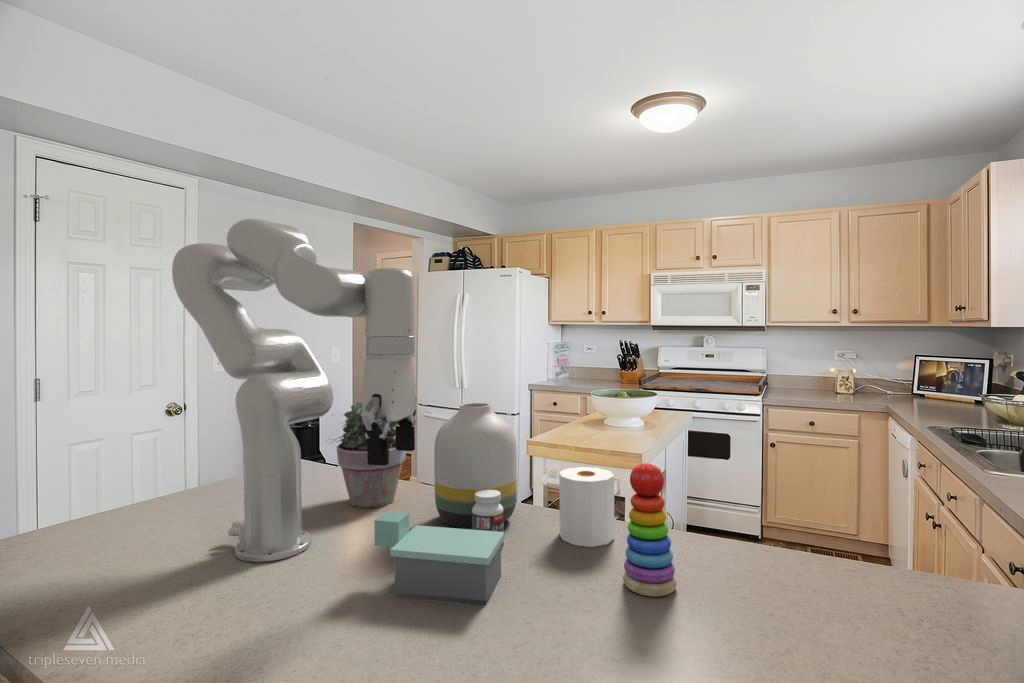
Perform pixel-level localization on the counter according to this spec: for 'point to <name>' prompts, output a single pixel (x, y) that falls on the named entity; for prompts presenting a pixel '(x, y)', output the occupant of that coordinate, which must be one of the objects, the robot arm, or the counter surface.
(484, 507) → the pill bottle
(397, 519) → the mint slab with cube
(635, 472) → the stacking toy
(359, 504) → the potted plant
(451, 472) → the vase
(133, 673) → the counter surface
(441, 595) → the tub
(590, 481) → the toilet paper
